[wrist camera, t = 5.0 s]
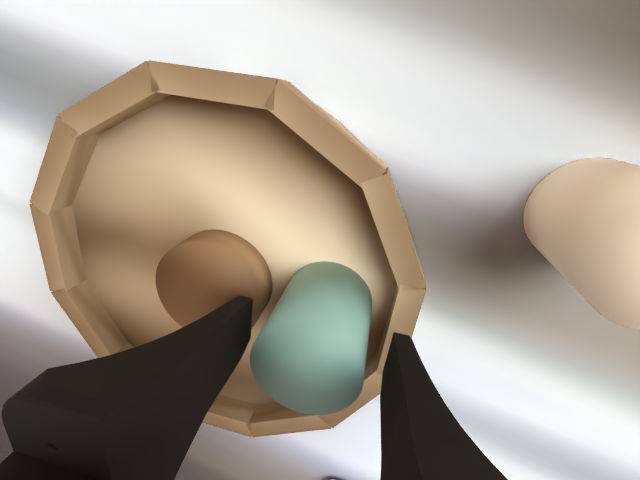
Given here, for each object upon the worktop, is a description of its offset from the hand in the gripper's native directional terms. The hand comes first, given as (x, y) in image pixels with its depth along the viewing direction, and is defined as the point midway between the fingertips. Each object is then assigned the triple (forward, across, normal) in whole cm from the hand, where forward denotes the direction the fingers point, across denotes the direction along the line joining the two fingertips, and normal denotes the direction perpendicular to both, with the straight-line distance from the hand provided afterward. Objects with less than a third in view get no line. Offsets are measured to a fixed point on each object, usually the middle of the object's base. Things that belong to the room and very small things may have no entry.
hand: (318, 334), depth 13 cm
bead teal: (+2, 0, 0) cm, 2 cm away
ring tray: (+3, +5, 0) cm, 6 cm away
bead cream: (+3, -9, -6) cm, 11 cm away
